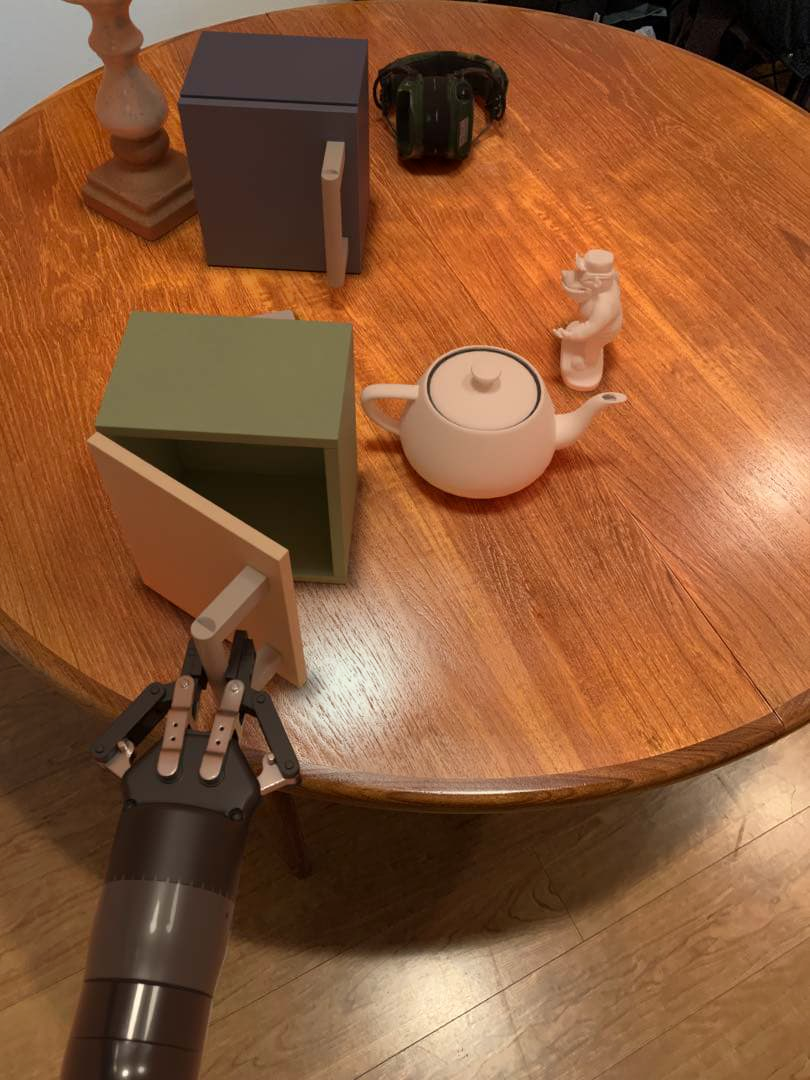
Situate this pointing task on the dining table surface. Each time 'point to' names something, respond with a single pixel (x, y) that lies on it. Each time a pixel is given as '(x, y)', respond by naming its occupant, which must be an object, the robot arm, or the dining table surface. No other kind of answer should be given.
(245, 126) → the dark cabinet door
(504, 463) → the teapot
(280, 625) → the peach cabinet door
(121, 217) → the candle holder
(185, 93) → the dark purple boxy piece
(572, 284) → the figurine
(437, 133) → the headphones
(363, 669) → the dining table surface
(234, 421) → the green-topped cabinet
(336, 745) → the dining table surface
